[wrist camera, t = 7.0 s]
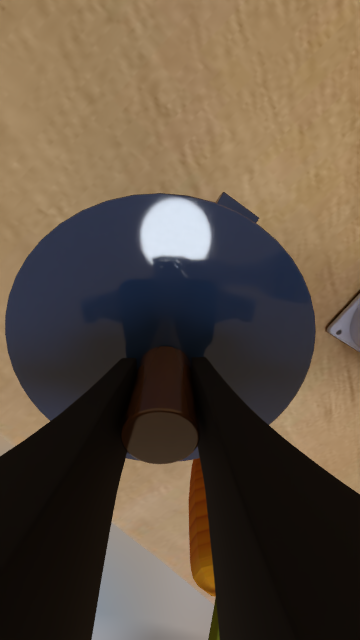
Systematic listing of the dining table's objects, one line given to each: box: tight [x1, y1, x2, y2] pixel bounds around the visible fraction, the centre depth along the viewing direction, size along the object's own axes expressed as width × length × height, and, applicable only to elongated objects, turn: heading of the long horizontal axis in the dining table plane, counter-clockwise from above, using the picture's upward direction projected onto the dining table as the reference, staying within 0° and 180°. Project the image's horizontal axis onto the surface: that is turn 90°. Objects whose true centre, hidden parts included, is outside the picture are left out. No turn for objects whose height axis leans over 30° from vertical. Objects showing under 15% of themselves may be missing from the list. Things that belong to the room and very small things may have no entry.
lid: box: [5, 193, 316, 464], centre depth 8 cm, size 14×14×5 cm
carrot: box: [189, 458, 220, 640], centre depth 17 cm, size 5×5×15 cm
